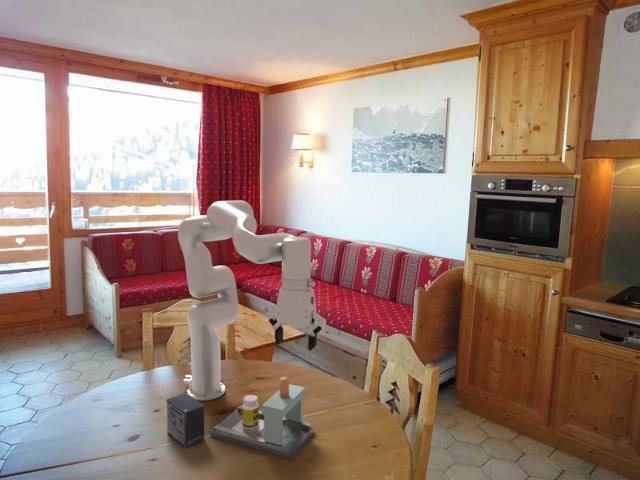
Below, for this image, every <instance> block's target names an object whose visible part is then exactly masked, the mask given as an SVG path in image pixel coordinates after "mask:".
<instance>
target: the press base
mask: <svg viewBox="0 0 640 480" xmlns="http://www.w3.org/2000/svg"><path fill="white" fill-rule="evenodd" d="M242 406H243V405H239V406H237V408H236V409H235V410H234V411H233V412H231V413H230V414H229V415H228V416H226V417H225V418H224V419H223V420H221V422H219V423H218V424H217V425H214V427H212V429H211V430H209V431H210V432H209V433H210V434H209V435H210V437H213V438H216V439H218V440H223V441H227V442H230V443H234V444H237V445H239V446H240V445H241V446H243V447H247V448H251V449H254V450H258V451H261V452H264V453H268V454H272V455H275V456H278V457H282V458H286V459H288V460H291V461H292V460H294V459H295V457H296V456H297V455H298V453H299V452H300V451H301V450H302V449H303V447H304V446H305V445H306V443H308V441H309V440H310V438H311V437H312V436H313V435H314V433H315V427H312V423H311V422H307V421H303V420H302V422H297V421H293V420H289V419H285V416H284V417H283V443H282V444H281V445H278V444H274V443H270V442H267V441H264V414H262V410H260V409H259V425H258V426H257V427H256V428H254V429H246V428H244V427H243V426H242Z"/></svg>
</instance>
